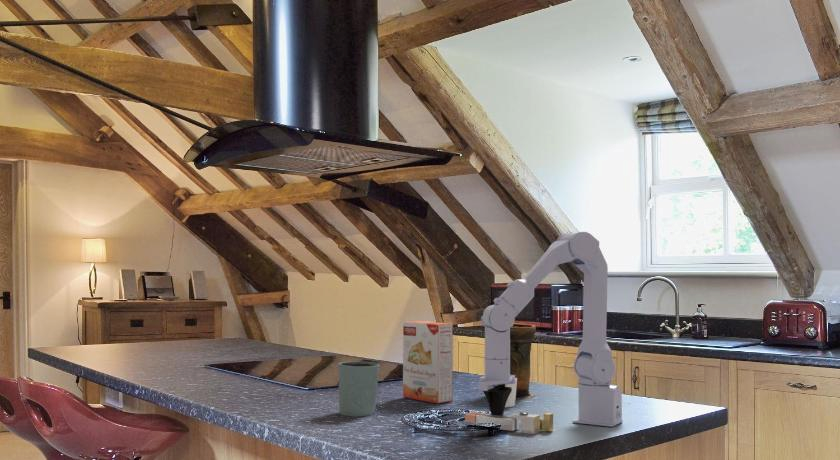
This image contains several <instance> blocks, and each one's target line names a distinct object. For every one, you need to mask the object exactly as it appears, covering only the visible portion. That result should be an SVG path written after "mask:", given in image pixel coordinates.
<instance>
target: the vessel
mask: <svg viewBox="0 0 840 460" xmlns="http://www.w3.org/2000/svg"><path fill="white" fill-rule="evenodd" d="M483 330H484V332H485V328H484V329H483ZM536 331H537V328H536V324H527V323H516V322H514V324H513V326H512V327H510V375H515V378H517V387H516V398H515V400H523V399H524V400H525V399H530V398H533V397H535V396H536V394H533V393H530V381H531V380H530V378H531V352H532V351H531V350H532V343H533V338H534V336H535V334H536Z"/></svg>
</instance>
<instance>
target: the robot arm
mask: <svg viewBox="0 0 840 460" xmlns="http://www.w3.org/2000/svg"><path fill="white" fill-rule="evenodd" d="M565 263H571V264H573V265H574V266H575V267H577V268H578V269H579V270H580V271H581V272H582V273H583V300H582V301H583V304H582V305H583V306H582V310H583V311H582V341H581V342H580V344H579V346H578V347H577V356H576V358H575V359H574V363H573V371H574V372H575V374H576V375H577V376H578V381H577V382H578V391H577V392H578V417H577V418H575V419H573V420H572V423H573V424H574V423H575V424H582V425H583V424H585V425H590V426H591V425H593V426H601V427H611V428H612V427H615V426H617V425H618V424H620V423H623V422H624V421H623V416H622V415H623V412H622V411H623V407H622V403H623V397H622V395H623V394H622V389H621V387H620V386H619V385H613V384H611V381H612V380H613V379H614V376H615V374H616V365H615V362H614V360H613V356H612V355H613V354H612V353H613V352H612V349H611V347H610V346H609V344H608V342H607V322H608V320H607V317H608V268H609V267H608V263H607V261H606V259H605V257H604V254H603V252H602V250H601V248H600V241H599V240H598V239H597V238H596V237H594V236H593V234H591V233H590V232H588V231H579V232H572V233H570V232H567V233H563V234H561V235H560V236H558V238H557V239H556V240H555V241H553V242H552V243H551V244H550V245H549V247H548V249H546V251H545V252H544V253H543V254H542V256H541V257H540V258H539V259H538V260H537V261H536V263H535V264H534V265H533V266H532V268H531V269H530V270H529V271H528V272H527V274H526V275H525V276H524V277H523V278H522V279H521V278H518V279H515V280H514V281H509V282H508V283H507V284H506V287H507V288H506V289H505V290H504V291H503V292H502V293H501V295H500V296H499V297H495V298H494V300H493V303H494V304H492V305H489V306H486V308H485V309H484V311H483V313H482V314H483V315H481V317H480V321H481V323H482V325H483V327H484V329H485V331H484V376H480V377H479V381H478V383H477V389H478V391H482V392H483V394H484V396H485V397H486V400H487V403H488V406H489V410H490V414H493V415H502V416H504V413H505V409H506V407H505V405H506V402H507V399H508V397H509V395H510V393H511V391H512V388H511V387H505V385H507V384H515V375H510V327H512V326H513V324H514V323H515V320H516V319H515V318H516V317H517V316H518V315H519V314H520V313H521V312H522V311H523V309H524V308H525V307H526V306H527V305H528V304H529V303H530V302H531V300H533V298H535V289H536V287H537V286H538V285H539V284H540V283H541V282H542V281H543V280H544V279H546V277H547V276H548V275H549V274H550V273H552V271H553V270H555V268H556V267H558V265H561V264H565Z"/></svg>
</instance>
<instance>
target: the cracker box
mask: <svg viewBox="0 0 840 460" xmlns="http://www.w3.org/2000/svg"><path fill="white" fill-rule="evenodd" d="M402 324H403V326H402V328H403V329H402V330H403V331H402V334H403V335H402V336H403V337H402V338H403V339H402V340H403V343H402V344H403V345H402V347H403V348H402V352H403V353H402V397H403V398H406V399H410V400H411V399H412V400H417V401H423V402H428V403H432V404H439V405H440V404H445V403H449V402H450V403H451V402H453V391H454V390H453V385H454V383H453V380H454V379H453V373H454V372H453V370H454V369H453V367H454V365H453V363H454V362H453V357H454V354H453V353H454V352H453V351H454V350H453V349H454V347H453V346H454V345H453V343H454V342H453V341H454V338H453V336H454V332H453V331H454V330H453V329H454V325H453V323H447V322H438V321H437V322H436V321H425V320H407V321H406V320H405V321H403V323H402Z"/></svg>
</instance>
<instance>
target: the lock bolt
mask: <svg viewBox="0 0 840 460" xmlns="http://www.w3.org/2000/svg"><path fill="white" fill-rule="evenodd" d="M541 431H543V432H552V431H554V413H553V412H545V413H543V418H541V417H540V432H541Z"/></svg>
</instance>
